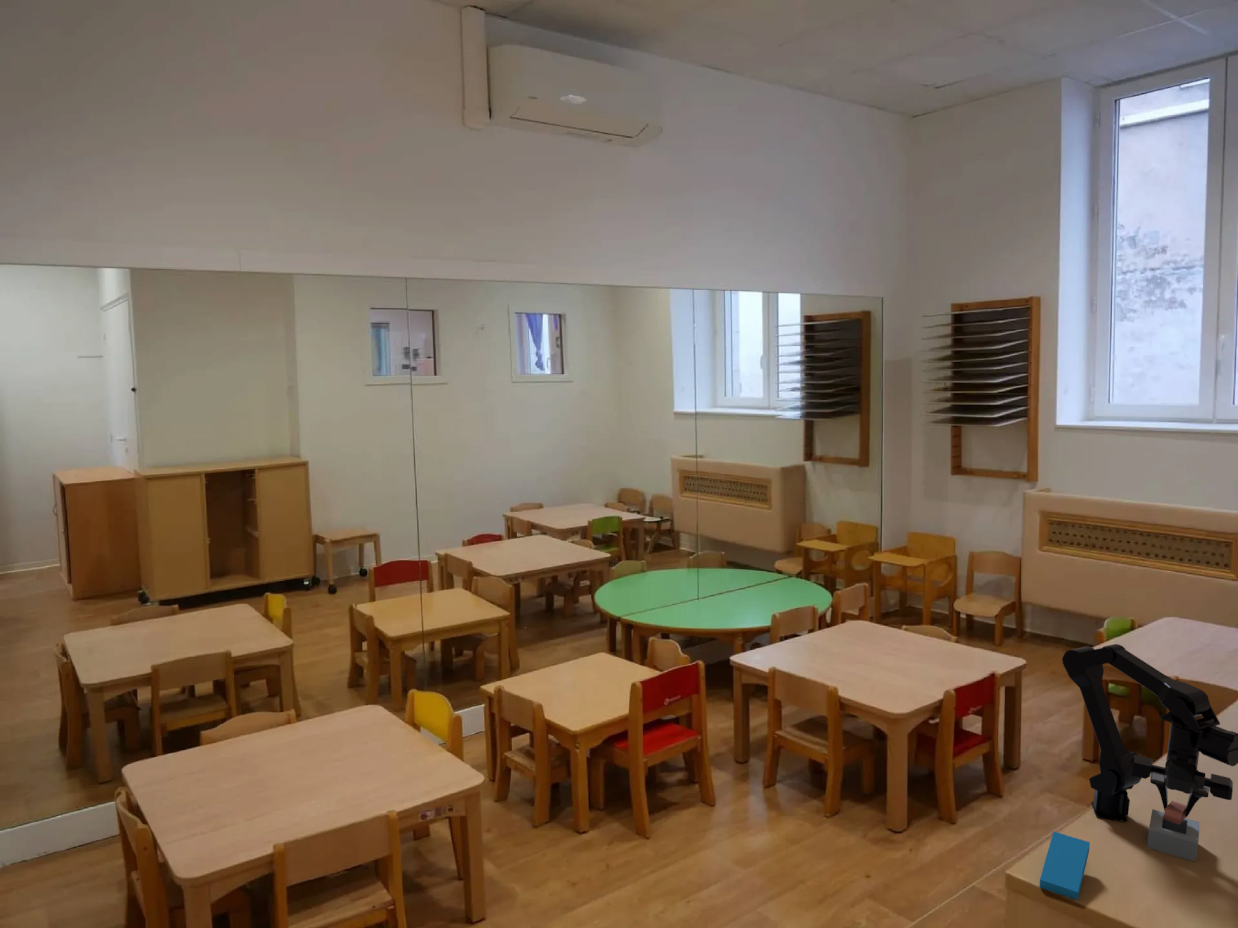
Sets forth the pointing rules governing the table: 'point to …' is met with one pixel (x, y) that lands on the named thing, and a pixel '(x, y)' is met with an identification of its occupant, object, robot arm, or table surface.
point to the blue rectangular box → (1065, 865)
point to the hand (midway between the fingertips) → (1175, 813)
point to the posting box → (1173, 836)
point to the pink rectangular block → (1175, 812)
